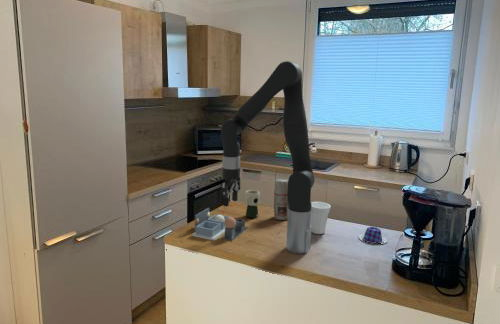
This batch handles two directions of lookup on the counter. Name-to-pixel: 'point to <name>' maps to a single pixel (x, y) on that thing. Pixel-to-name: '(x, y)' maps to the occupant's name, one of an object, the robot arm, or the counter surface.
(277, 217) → the spray can
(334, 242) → the counter surface
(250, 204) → the character mug
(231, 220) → the terracotta ball
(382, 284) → the counter surface
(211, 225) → the rack
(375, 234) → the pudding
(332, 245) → the counter surface
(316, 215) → the cup
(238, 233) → the post stand
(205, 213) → the card
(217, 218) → the cream ball
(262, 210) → the counter surface
